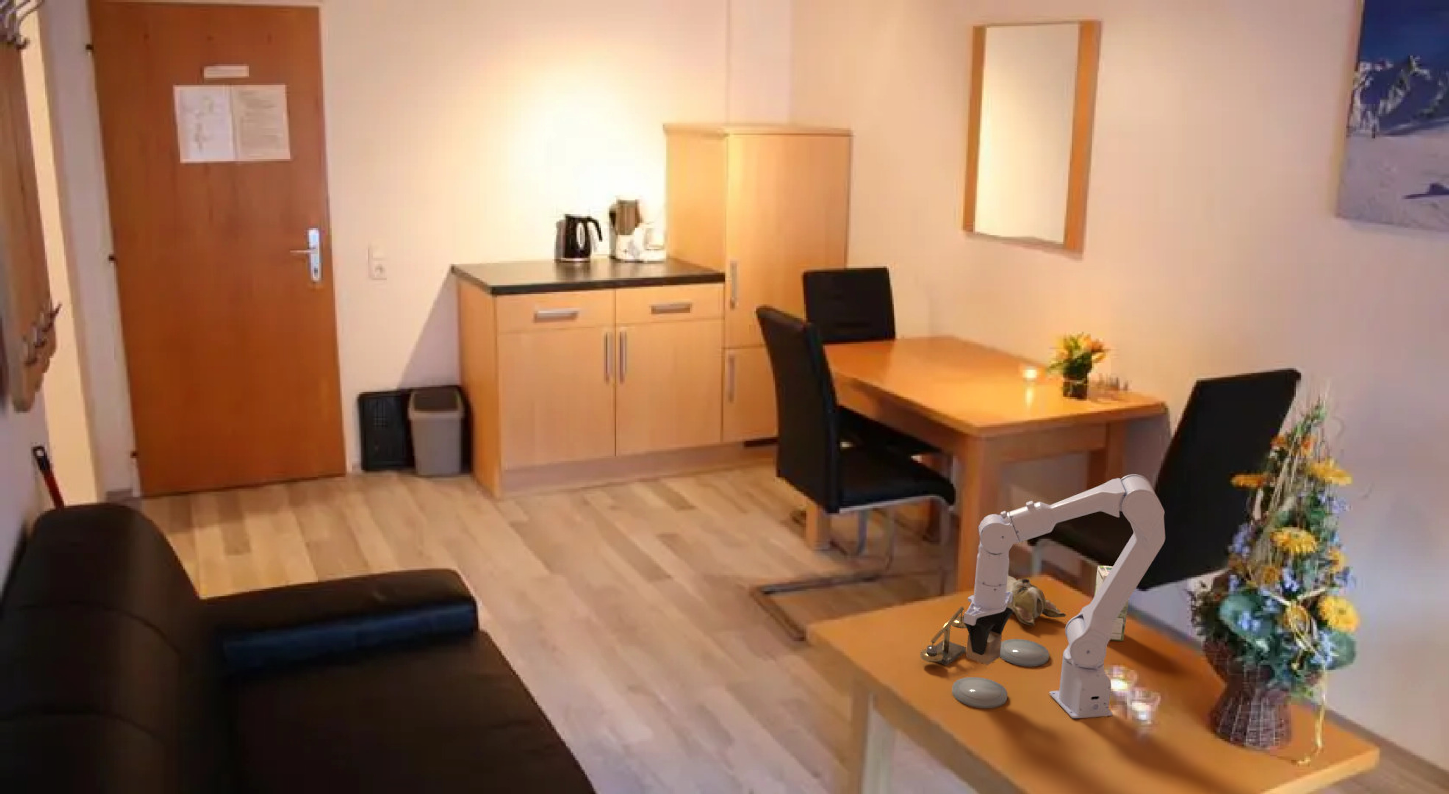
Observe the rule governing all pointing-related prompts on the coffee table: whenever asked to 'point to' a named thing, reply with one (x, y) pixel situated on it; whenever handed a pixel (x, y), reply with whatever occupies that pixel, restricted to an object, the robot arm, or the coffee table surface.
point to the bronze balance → (945, 643)
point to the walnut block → (991, 649)
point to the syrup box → (1121, 619)
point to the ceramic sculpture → (1029, 601)
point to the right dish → (1023, 652)
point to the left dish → (979, 692)
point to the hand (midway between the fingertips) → (984, 648)
